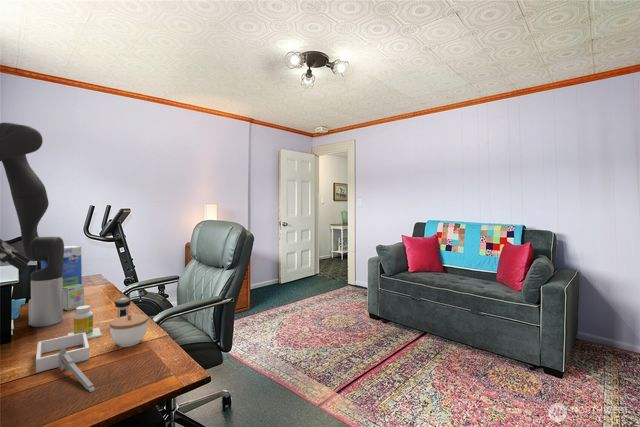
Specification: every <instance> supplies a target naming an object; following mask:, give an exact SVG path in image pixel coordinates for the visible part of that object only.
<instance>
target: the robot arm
mask: <svg viewBox="0 0 640 427" xmlns="http://www.w3.org/2000/svg"><path fill="white" fill-rule="evenodd" d="M43 142H44V140H43V137H42V134H41V132H40V131H39V130H37V129H36V128H35V127H32V126H29V125H25V124H19V123H14V122H0V162H1V163H2V166H3V168H4V171H5V175H6V178H7V182H8V185H9V190H10V194H11V197H12V202H13V205H14V207H15V212H16V216H17V219H18V223H19V227H20V228H19V229H20V233H21V234H20V236H21V242H22V249H23V250H22V251H23V254H24V255H23V254H21V253H20V252H19V251H18V249H17V248H15V247H14V246H12V245H11V244H9V243H7V242H6V241H5V240H3V239H2V238H0V262H1V263H2V264H4V263H5V264H9V265H10V266H12V267H14V268H15V269H17V270H19V271H23V270H25V269H26V268H27V267H28V266H29V263H30V262H41V261H48V265H47V266H46V267H45V268H43V269H41V268H40V269H37V270H35V271H32V272H31V273H30V299H29V300H28V325H29V326H31V327H34V328H39V327H41V328H42V327H49V326H53V325H56V324H59V323H61V322H62V321H64V320H63V319H64V310H63V283H62V272H63V259H64V247H65V243H64V240H63V238H62V237H60V236H39V235H38V226H39V223H40V222H41V221H42V220H41V219H42V218H43V216H45V213H46V212H47V210H48V207H49V204H50V203H49V198H48V193H47V190H46V186H45V184H44V183H43V181H42V180H41V179H40V178H39V176H38V175H37V173H35V170H33V168H32V167H31V165H30V163H29V161H28V158H27V156H26V155H28V154H32V153H34V152H37V151H38V150H39V149H40V148H41V147H42V146H43Z"/></svg>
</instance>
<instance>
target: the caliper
mask: <svg viewBox="0 0 640 427" xmlns="http://www.w3.org/2000/svg"><path fill="white" fill-rule="evenodd" d="M66 352H67V348H65V347H63V348H60V349H59V350H58V354H59V356H58V367H57V368H58V369H60V371H64V370H67V372H69V371H70V372H71V373H72V375H73V376H74V377H75V378H76V379H77V381H78V382H79V383H80V384H81V385H82V387H83V388H84V389H85V390H86V391H89V392H90V393H92V392H94V391H96V388H95V387H94V384H93V383H92V382H91V380H90V379H89V378H88V377H87V375H86V374H84V373H83V371H82V370H81V369H80V368H79V367H78V365H77V364H76V363H74V362H73V360H72V359H71V357H70V356H69V355H68V354H67V353H66Z"/></svg>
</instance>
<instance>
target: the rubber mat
mask: <svg viewBox="0 0 640 427" xmlns="http://www.w3.org/2000/svg"><path fill="white" fill-rule="evenodd" d="M69 335H74V331H73V332H68V333H67V335H66V336H69ZM86 337H87V340H91V339H95V338H99V337H102V332H101V330H100V326H98V327H93V333H92V334H90V335H88V336H86Z"/></svg>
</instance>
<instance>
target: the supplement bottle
mask: <svg viewBox="0 0 640 427" xmlns="http://www.w3.org/2000/svg"><path fill="white" fill-rule="evenodd" d="M93 328H94V312H92V311H91V305H88V304H87V305H86V304H85V306H80V307H77V308H76V309H75V314H74V315H73V332H74V334H79V333H84V332H85V333H86V336H88V335H90V334H92V333H93Z"/></svg>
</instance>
